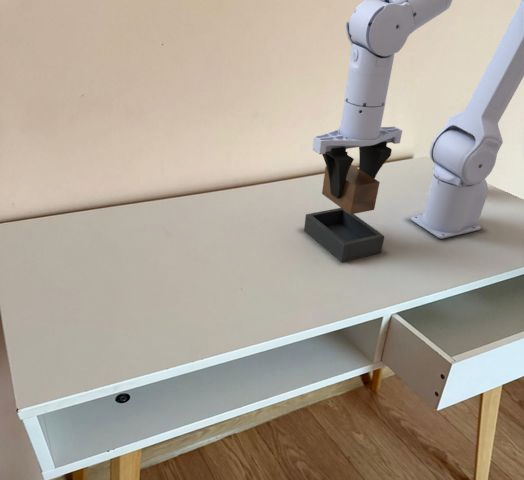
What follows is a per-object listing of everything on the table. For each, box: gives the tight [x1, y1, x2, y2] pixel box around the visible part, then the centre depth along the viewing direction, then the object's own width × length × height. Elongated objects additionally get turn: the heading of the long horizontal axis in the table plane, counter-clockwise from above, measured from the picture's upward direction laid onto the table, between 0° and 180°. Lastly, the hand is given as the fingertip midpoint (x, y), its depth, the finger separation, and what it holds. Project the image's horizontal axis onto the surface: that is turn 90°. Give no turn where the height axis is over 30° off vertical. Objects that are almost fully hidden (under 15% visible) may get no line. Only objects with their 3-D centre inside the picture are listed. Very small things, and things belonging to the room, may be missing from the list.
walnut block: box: [321, 164, 381, 215], centre depth 86 cm, size 4×8×4 cm, turn 28°
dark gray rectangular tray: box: [303, 207, 386, 263], centre depth 90 cm, size 8×11×3 cm
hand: (349, 193), depth 86 cm, fingers closed on walnut block, 4 cm apart
